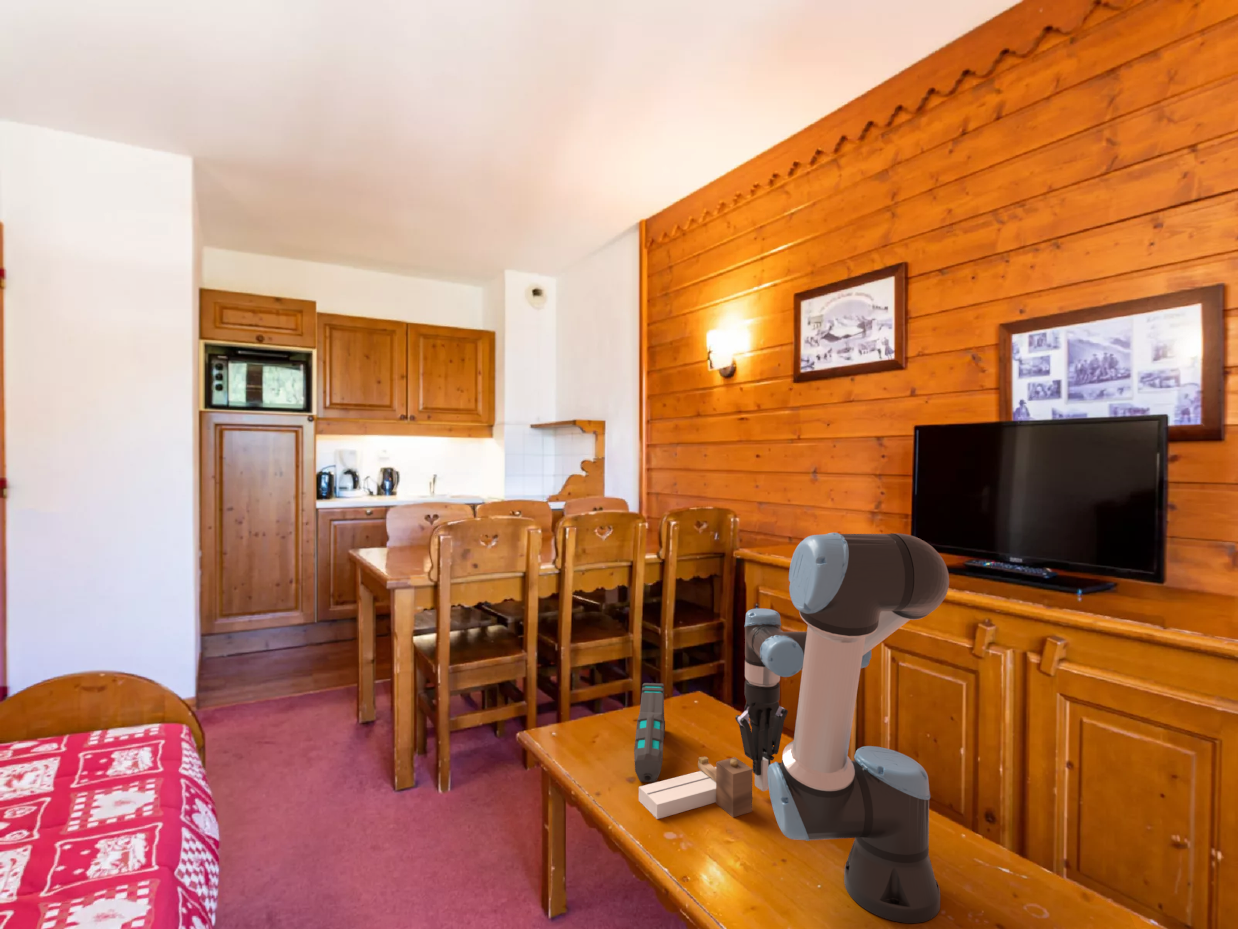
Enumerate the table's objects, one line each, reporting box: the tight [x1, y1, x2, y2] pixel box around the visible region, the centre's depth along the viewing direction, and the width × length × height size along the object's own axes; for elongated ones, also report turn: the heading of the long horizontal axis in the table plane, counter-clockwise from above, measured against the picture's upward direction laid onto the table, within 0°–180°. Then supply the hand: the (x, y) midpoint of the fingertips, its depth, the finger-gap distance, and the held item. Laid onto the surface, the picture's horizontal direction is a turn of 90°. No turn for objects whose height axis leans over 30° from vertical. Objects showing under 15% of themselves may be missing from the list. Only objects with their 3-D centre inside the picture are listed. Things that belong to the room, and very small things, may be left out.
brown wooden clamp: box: [697, 756, 753, 818], centre depth 139 cm, size 15×5×10 cm, turn 27°
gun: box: [633, 682, 666, 783], centre depth 159 cm, size 7×29×15 cm, turn 174°
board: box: [638, 766, 716, 820], centre depth 139 cm, size 8×22×3 cm, turn 117°
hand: (761, 787), depth 138 cm, fingers closed
